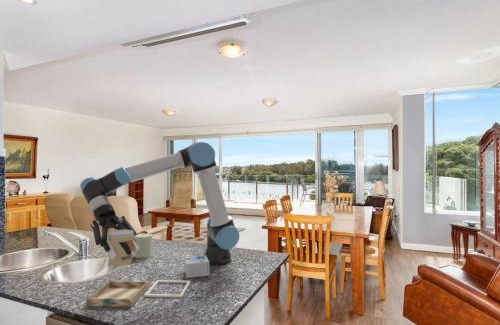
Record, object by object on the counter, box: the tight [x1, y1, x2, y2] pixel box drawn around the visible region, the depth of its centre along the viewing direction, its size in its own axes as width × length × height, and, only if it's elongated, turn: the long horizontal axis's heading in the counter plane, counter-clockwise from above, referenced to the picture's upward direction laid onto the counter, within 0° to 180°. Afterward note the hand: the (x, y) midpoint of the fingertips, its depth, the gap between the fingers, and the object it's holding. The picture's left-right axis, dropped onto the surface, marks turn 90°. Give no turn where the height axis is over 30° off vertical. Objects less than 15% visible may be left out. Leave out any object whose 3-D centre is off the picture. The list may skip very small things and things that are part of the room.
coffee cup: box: [107, 229, 135, 267], centre depth 111 cm, size 9×9×12 cm
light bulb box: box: [184, 255, 211, 279], centre depth 135 cm, size 11×7×11 cm
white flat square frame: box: [143, 279, 191, 299], centre depth 117 cm, size 15×15×1 cm
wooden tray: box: [85, 280, 150, 308], centre depth 110 cm, size 16×17×3 cm
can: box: [134, 233, 153, 259], centre depth 162 cm, size 9×9×12 cm
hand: (125, 254), depth 109 cm, fingers closed on coffee cup, 9 cm apart
